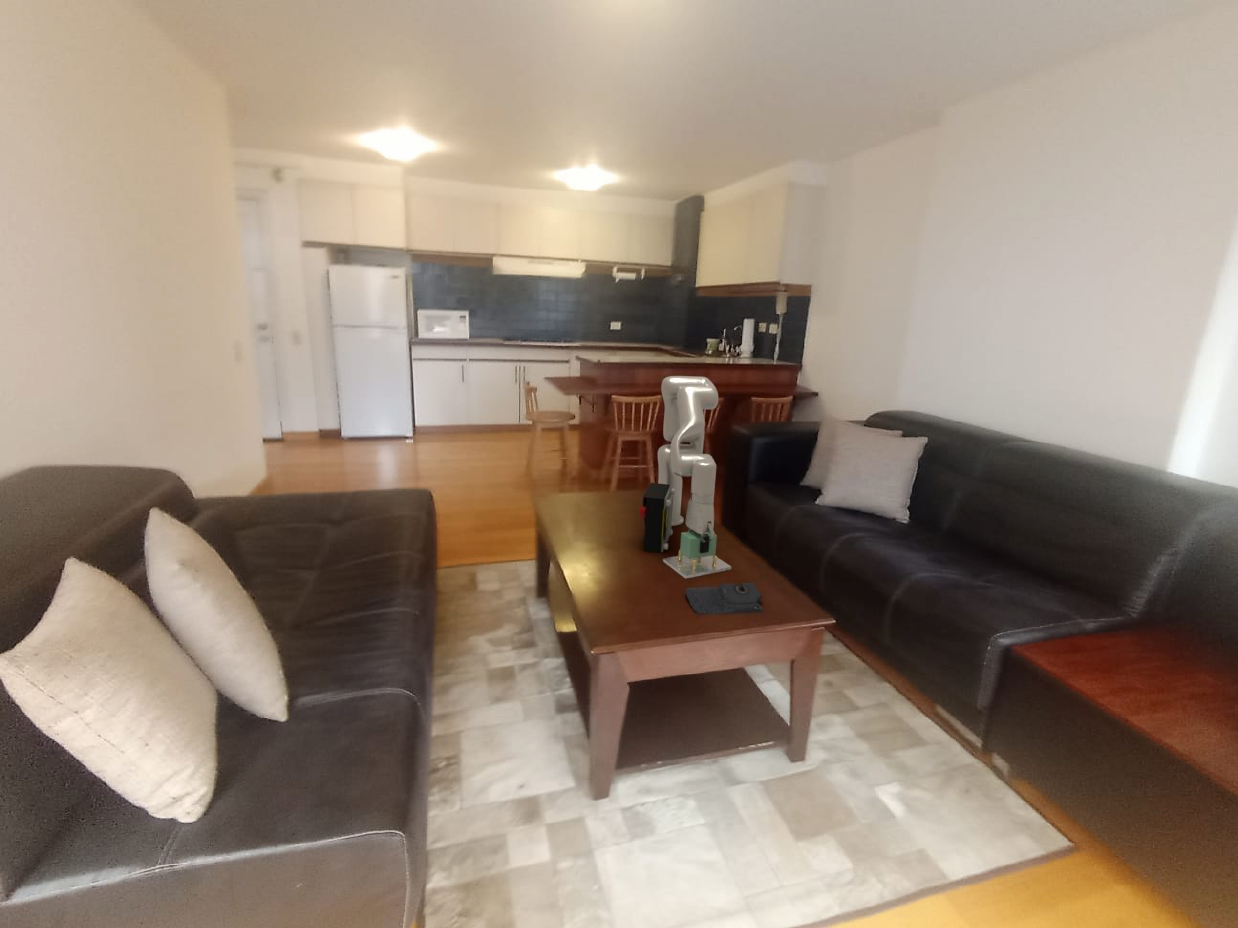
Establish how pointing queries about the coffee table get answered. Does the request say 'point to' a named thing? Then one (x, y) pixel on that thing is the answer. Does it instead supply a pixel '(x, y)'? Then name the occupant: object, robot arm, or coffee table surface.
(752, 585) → the dark slate chunk
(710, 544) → the green block
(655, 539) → the electrical component
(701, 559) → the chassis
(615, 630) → the coffee table surface
